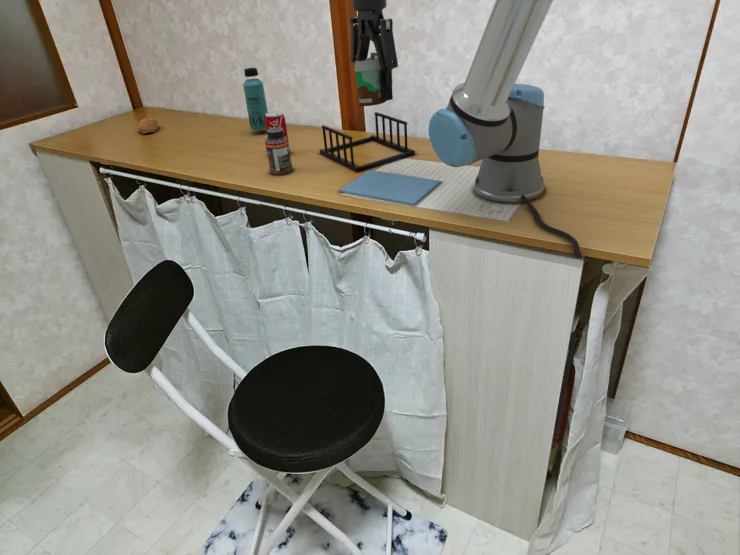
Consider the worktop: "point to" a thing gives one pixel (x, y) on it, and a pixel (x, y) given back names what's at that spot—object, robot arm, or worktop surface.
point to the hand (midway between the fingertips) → (375, 97)
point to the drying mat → (391, 187)
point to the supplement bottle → (278, 152)
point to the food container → (368, 81)
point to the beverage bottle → (255, 100)
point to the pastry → (148, 125)
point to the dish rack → (330, 151)
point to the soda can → (276, 121)
